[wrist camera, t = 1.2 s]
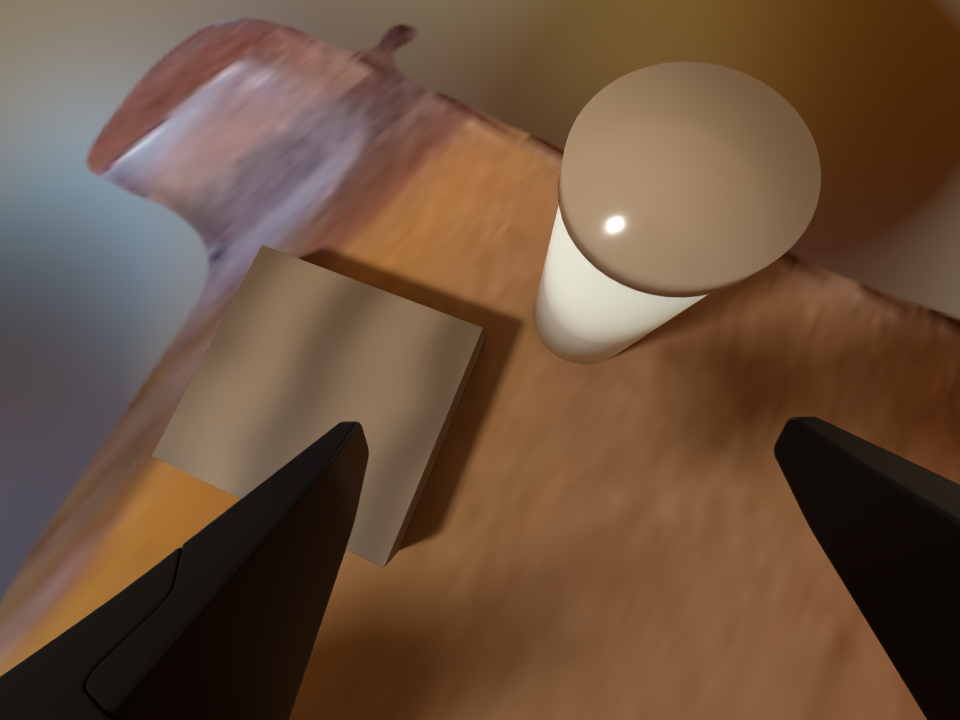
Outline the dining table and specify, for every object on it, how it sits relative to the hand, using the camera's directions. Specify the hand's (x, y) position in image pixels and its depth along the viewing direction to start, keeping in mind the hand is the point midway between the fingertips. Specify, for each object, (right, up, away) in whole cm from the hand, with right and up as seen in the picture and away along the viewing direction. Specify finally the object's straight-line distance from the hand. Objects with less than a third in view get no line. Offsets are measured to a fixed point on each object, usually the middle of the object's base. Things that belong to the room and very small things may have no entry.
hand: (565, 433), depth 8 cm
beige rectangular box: (-10, -1, +14) cm, 18 cm away
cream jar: (+4, +4, +14) cm, 16 cm away
